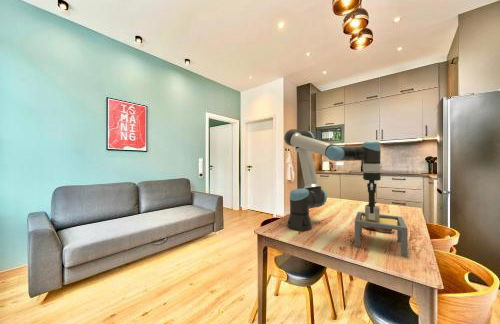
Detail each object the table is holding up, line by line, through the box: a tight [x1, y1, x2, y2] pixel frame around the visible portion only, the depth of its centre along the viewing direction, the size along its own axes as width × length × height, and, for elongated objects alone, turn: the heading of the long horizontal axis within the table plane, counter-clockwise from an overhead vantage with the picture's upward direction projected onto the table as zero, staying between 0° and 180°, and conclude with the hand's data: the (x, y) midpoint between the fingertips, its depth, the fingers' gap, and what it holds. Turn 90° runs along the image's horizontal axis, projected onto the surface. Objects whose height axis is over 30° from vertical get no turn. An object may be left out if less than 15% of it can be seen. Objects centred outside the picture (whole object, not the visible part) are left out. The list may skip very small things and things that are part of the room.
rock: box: [362, 216, 393, 233], centre depth 118 cm, size 16×11×15 cm
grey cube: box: [364, 204, 380, 221], centre depth 99 cm, size 6×6×6 cm
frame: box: [354, 211, 409, 258], centre depth 98 cm, size 20×20×12 cm
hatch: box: [362, 216, 397, 227], centre depth 98 cm, size 14×14×1 cm
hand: (371, 217), depth 99 cm, fingers closed on grey cube, 6 cm apart
